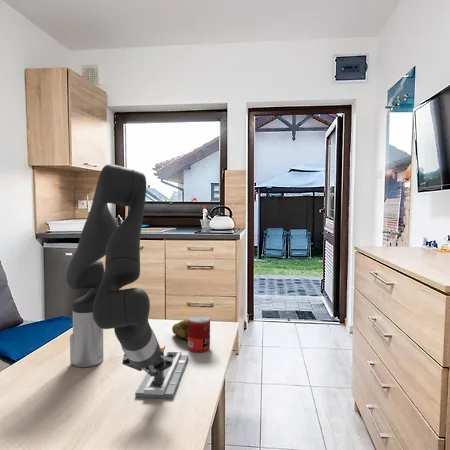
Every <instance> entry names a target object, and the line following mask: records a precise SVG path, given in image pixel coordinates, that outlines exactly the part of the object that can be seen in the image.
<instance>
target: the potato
mask: <svg viewBox="0 0 450 450" xmlns="http://www.w3.org/2000/svg"><path fill="white" fill-rule="evenodd" d="M171 331H172V333H173V334H174V335H176V336H178V337H179V338H180V339H186V340H188V319H184V320H181V321H178V322H177V323H175V324H173V326H172V328H171Z"/></svg>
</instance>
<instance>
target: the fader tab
mask: <svg viewBox="0 0 450 450" xmlns="http://www.w3.org/2000/svg"><path fill="white" fill-rule="evenodd" d="M159 346H160V350H161V352H163V353H165V350H166V344H159ZM164 380H165V376H164V371H161V372H160V371H159V375H157V377H154V380H153V385H162V384H163V382H164Z"/></svg>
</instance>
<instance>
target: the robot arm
mask: <svg viewBox="0 0 450 450" xmlns="http://www.w3.org/2000/svg"><path fill="white" fill-rule="evenodd" d="M146 194H147V178H146V175H145V174H144V173H143V172H142V171H140V170H136V169H134V168H133V169H132V168H130V167H129V168H128V167H125V166H121V165H117V164H106V165H104V166H103V167H102V169H101V171H100V173H99V176H98V178H97V182H96V186H95V190H94V193H93V199H92V202H91V203H92V204H91V206H90V210H89V213H88V215H87V218H86V221H85V223H84V226H83V227H82V232H81V234H80V237H79V241H78V244H77V247H76V250H75V252H74V254H73V256H72V258H71V260H70V262H69V264H68V267H67V270H66V275H65V276H66V278H65V279H66V283H67V285H68V287H69V288H70V289H72V290H75V291H76V290H86V289H87V290H88V289H90V290H89V291H88V292H87V293H86V294H84V295H82V296H81V297H79V298H77V299H75V300H74V301H73V302H72V305H71V307H72V333H71V334H70V335H69V352H70V353H69V354H70V355H69V358H70V359H69V361H70V362H69V365H70V366H75V367H76V368H77V367H78V368H90V367H94V366H97V365H100V364H102V362H103V361H104V330H111V329H114V330H113V332H114V334H115V337H116V338H117V340H118V342H119V343H120V346H121V349H122V352H123V353H124V355H123V358H122V363H121V364H122V365H123V366H126V367H128V368H131V369H134V370H136V371H138V372H142V371H144V372H145V373H146V374H147V373H148V374H149V375H150V376H151V377H157V375H159V371H160V372H161V371H164V370H165V369H167V368H169V367H171V366H172V362H173V355H172V354H170V355H168V356H167V355H166V356H164V353H165V352H164V353H163V352H161V350H160V346H159V345H160V344H159V341H158V338H157V337H156V334H155V332H154V330H153V329H152V327H151V325H150V322H149V316H150V307H151V306H150V305H151V304H150V298H149V294H147V292H146V291H145V290H143V289H142V288H139V287H130V288H125V289H122V288H123V287H126V286H128V285H130V284H133V283H135V282H136V281H137V280H138V279H139V278H140V275H141V249H140V248H141V247H140V246H141V234H142V228H143V227H142V226H143V221H144V220H143V219H144V214H145V207H146V206H145V205H146V196H147V195H146ZM108 204H112V205H113V204H114V205H118V206H124V207H129V211H128V214H127V216H125V218H124V219H123V221H122V222H121V223H120V225H118V224H117V222H116V220H115V218H114V216H113V214H112V213H111V211H110V209H109V206H108ZM103 257H105V259H104V262H103V261H102V260H101V259H102V258H103ZM103 263H105V264H103Z"/></svg>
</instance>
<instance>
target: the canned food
mask: <svg viewBox="0 0 450 450" xmlns="http://www.w3.org/2000/svg"><path fill="white" fill-rule="evenodd" d="M187 320H188V338H187V348H188V350H189V351H191V352H193V353H205V352H207V351H209V350H210V347H211V318H210V317H209V316H207V315H203V314H202V315H201V314H197V315H196V314H195V315H190V316H189V317H188V318H187Z"/></svg>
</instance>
